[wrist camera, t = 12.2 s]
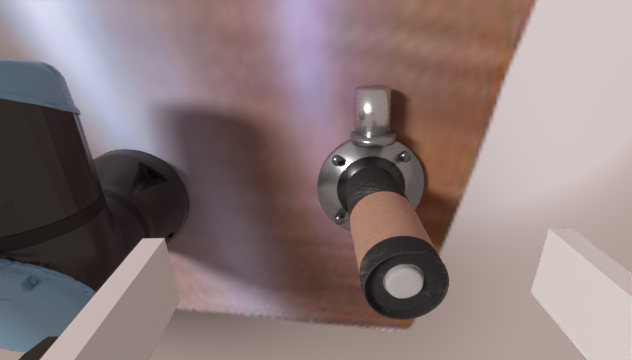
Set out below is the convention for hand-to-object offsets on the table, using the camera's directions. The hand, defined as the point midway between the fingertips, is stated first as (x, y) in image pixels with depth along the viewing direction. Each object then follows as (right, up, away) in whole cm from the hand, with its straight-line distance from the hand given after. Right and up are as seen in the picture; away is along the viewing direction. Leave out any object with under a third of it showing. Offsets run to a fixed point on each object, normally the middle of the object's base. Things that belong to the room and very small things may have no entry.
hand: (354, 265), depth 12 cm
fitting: (+6, +5, +35) cm, 36 cm away
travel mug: (+6, +2, +36) cm, 36 cm away
